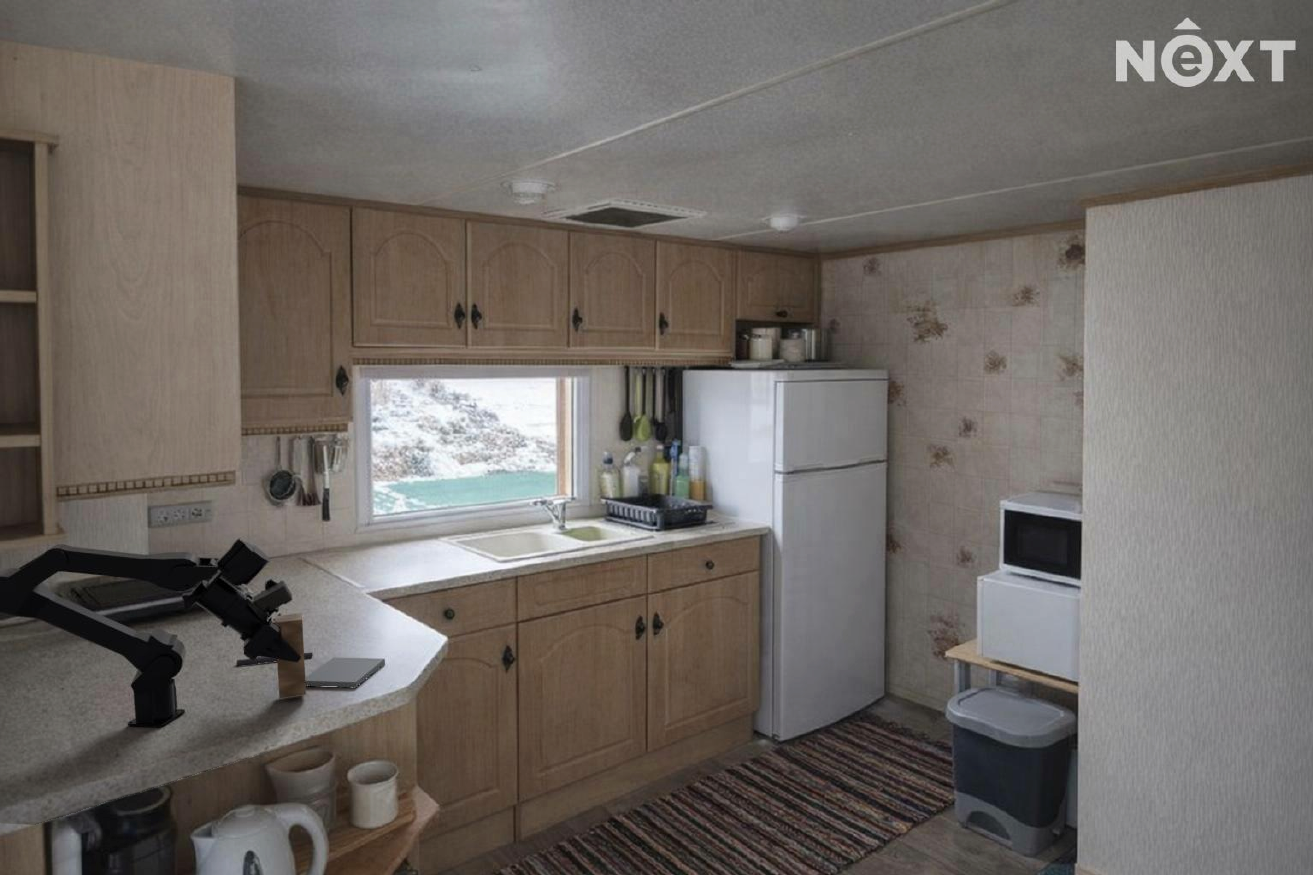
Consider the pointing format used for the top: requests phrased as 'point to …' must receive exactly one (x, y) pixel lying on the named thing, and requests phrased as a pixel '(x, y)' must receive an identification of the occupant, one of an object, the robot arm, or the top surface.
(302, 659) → the walnut block
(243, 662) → the squeegee
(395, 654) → the top surface
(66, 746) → the top surface
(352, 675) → the far plate
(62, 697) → the top surface
